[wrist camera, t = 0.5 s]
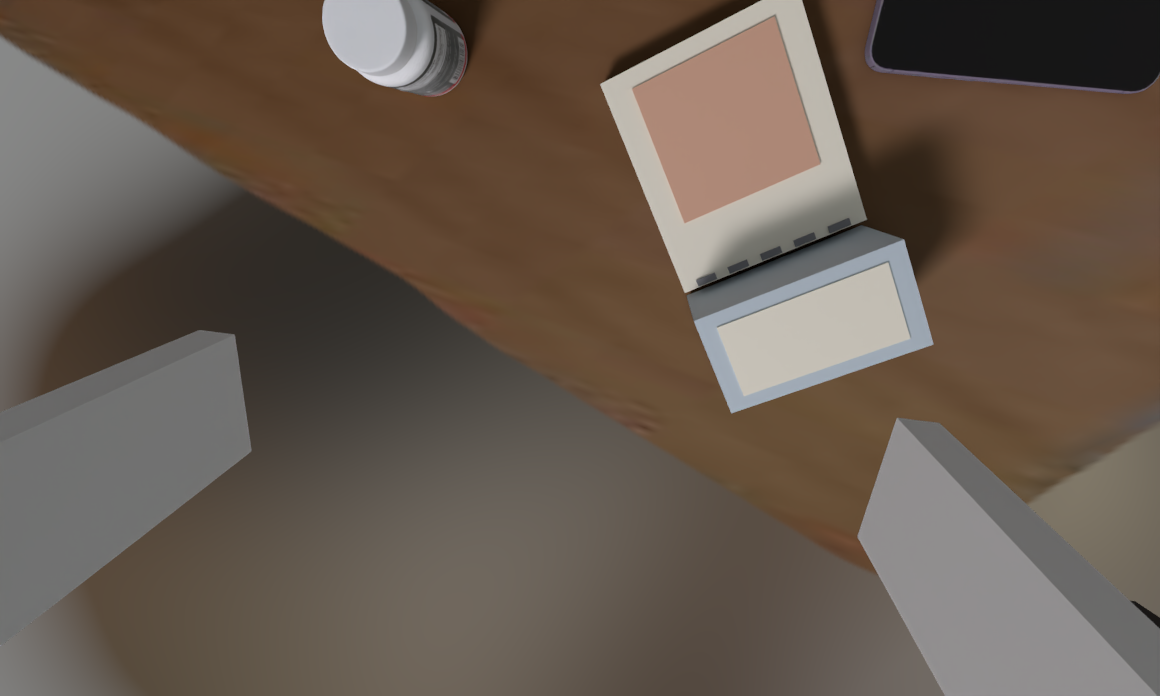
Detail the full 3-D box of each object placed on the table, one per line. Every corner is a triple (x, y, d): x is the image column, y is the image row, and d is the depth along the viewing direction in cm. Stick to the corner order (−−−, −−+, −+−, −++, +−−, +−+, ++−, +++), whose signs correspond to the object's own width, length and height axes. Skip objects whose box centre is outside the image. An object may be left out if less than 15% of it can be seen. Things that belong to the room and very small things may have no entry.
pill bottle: (376, 38, 32) (290, 2, 25) (439, -10, 31) (370, -65, 23) (421, 113, 33) (353, 101, 26) (484, 69, 32) (432, 42, 24)
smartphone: (1152, 96, 29) (864, 69, 29) (1133, 98, 30) (856, 72, 30) (1221, -69, 26) (904, -95, 27) (1198, -61, 27) (894, -86, 28)
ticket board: (602, 87, 32) (599, 83, 30) (789, -10, 29) (797, -19, 28) (683, 287, 35) (685, 293, 34) (857, 216, 33) (868, 219, 31)
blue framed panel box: (686, 295, 35) (693, 321, 30) (861, 225, 32) (904, 239, 27) (718, 375, 37) (731, 414, 31) (888, 314, 34) (934, 345, 29)
